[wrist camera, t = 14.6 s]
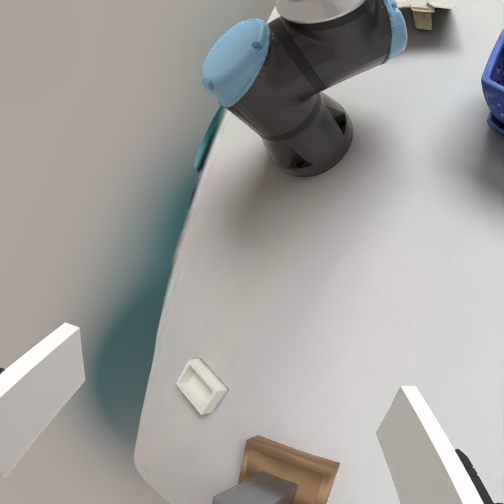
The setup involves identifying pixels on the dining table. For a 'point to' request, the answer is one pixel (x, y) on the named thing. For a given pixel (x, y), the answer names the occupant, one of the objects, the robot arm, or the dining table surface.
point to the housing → (259, 491)
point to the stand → (290, 468)
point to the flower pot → (495, 85)
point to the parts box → (201, 386)
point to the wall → (424, 12)
